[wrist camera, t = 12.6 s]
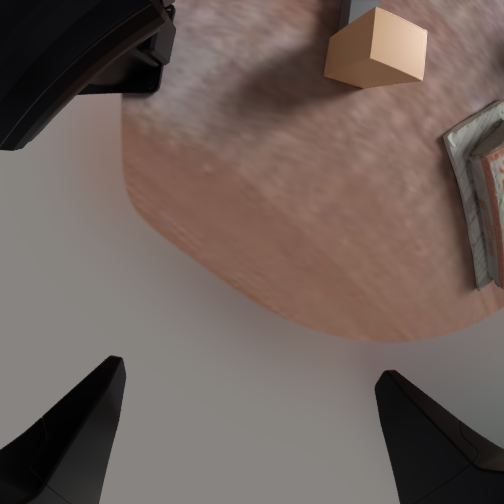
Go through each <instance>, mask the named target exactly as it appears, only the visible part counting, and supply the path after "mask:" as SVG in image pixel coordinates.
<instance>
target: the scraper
mask: <svg viewBox="0 0 504 504" xmlns="http://www.w3.org/2000/svg"><path fill="white" fill-rule="evenodd" d="M426 42H427V31H426V30H424V29H422V28H420V27H418V26H416V25H415V24H413V23H411V22H409V21H407V20H405V19H403V18H401V17H398V16H396V15H394V14H392V13H390V12H388V11H385V10H383V9H381V8H380V0H342V4H341V11H340V19H339V26H338V32H337V33H336V34H334V35H333V36H332V37H330V38H329V44H328V51H327V57H326V63H325V69H324V75H323V76H324V77H327V78H331V79H334V80H338V81H341V82H345V83H348V84H351V85H354V86H357V87H360V88H363V89H365V88H371V87H378V86H384V85H392V84H399V83H408V82H417V81H423V75H424V66H425V55H426Z"/></svg>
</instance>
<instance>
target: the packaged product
mask: <svg viewBox="0 0 504 504" xmlns="http://www.w3.org/2000/svg"><path fill="white" fill-rule="evenodd" d="M442 137H443V139H444V142H445V146H446V149H447V152H448V155H449V158H450V161H451V164H452V166H453V169H454V172H455V175H456V178H457V182H458V186H459V190H460V194H461V198H462V203H463V207H464V212H465V217H466V222H467V229H468V236H469V239H470V240H469V241H470V245H471V249H472V253H473V262H474V269H475V278H476V284H477V290H478V291H481V290H482V289H483V288H484V287H485V286H486V285H488V284H489V283H490V282H491V281H492V279H494V281H495V284H496V285H497V286H498V287H501V288H502V289H503V290H504V100H499V101H497V102H495V103H493V104H492V105H490V106H488V107H487V108H485V109H483V110H482V111H480V112H478V113H476V114H475V115H473V116H471V117H470V118H468V119H466V120H464V121H463V122H461V123H459V124H458V125H456V126H455V127H453V128H452V129H451V130H450V131H448V132H447V133H446V134H445V135H443V136H442Z"/></svg>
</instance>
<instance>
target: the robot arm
mask: <svg viewBox="0 0 504 504" xmlns="http://www.w3.org/2000/svg"><path fill="white" fill-rule="evenodd" d="M174 2H175V0H0V150H9V151H14V150H18V149H22V148H23V147H24V146H25V145H26V144H27V143H28V142H30V141H32V140H33V139H34V138H35V137H36V136H37V135H38V134H39V133H40V132H41V131H42V130H43V129H44V128H45V126H46V125H47V124H48V123H49V122H50V121H51V120H52V119H53V118H54V117H55V116H56V115H57V114H58V113H59V112H60V111H61V110H62V109H63V108H64V107H65V106H66V105H67V104H68V103H69V102H70V101H71V100H72V99H73V98H74V97H75V96H76V95H85V94H107V93H155V92H157V91H158V90H159V88H160V84H161V78H162V72H163V67H164V65H166V64H168V63H169V61H170V56H171V51H172V46H173V42H174V37H175V33H176V28H175V26H174V24H173V20H174V16H175V8H174V6H173V5H172V3H174ZM166 9H171V10H170V12H168V13H167V12H166V11H165V10H166ZM153 82H154V83H155V87H154V88H153V89H149V85H150V83H153ZM125 381H126V372H125V367H124V362H123V359H122V358H121V357H117V356H112V355H111V356H109V357H108V358H107V359H105V360H104V361H103V362H102V363H101V364H100V365H99V366H98V367H97V368H95V369H94V370H93V371H92V372H91V373H90V374H89V375H88V376H86V377H85V378H84V379H83V380H82V381H81V382H80V383H79V384H77V385H76V386H75V387H74V388H73V389H72V390H71V391H70V392H69V393H67V394H66V395H65V396H64V397H63V398H62V399H61V400H60V401H59V402H57V403H56V404H55V405H54V406H53V407H52V408H51V409H50V410H49V411H48V412H46V413H45V414H44V415H43V416H42V418H40V419H39V420H38V421H37V422H35V424H33V425H32V426H31V427H30V428H29V429H27V430H26V431H25V432H24V433H23V434H21V435H20V436H19V437H17V438H16V439H15V440H13V441H12V442H10V443H9V444H8V445H6V446H5V447H3V448H2V449H0V504H99V501H100V496H101V491H102V487H103V482H104V478H105V473H106V469H107V465H108V461H109V457H110V453H111V448H112V445H113V441H114V438H115V434H116V430H117V427H118V423H119V418H120V411H121V405H122V399H123V393H124V387H125ZM375 395H376V400H377V406H378V412H379V418H380V423H381V427H382V431H383V435H384V438H385V442H386V446H387V450H388V453H389V457H390V461H391V466H392V470H393V474H394V478H395V482H396V487H397V491H398V496H399V501H400V504H504V449H503V448H501V447H499V446H497V445H496V444H494V443H492V442H491V441H489V440H487V439H486V438H484V437H483V436H481V435H480V434H478V433H477V432H475V431H474V430H472V429H471V428H470V427H468V426H467V425H465V424H464V423H463V422H462V421H460V420H458V418H456V417H455V416H454V415H452V414H451V413H450V412H449V411H447V410H446V409H445V408H443V407H442V406H441V405H440V404H438V403H437V402H436V401H434V400H433V399H432V398H430V397H429V396H428V395H427V394H425V393H424V392H423V391H421V390H420V389H419V388H417V387H416V386H415V385H414V384H412V383H411V382H410V381H408V380H407V379H406V378H405V377H403V376H402V375H401V374H400V373H398V372H397V371H396V370H386V371H384V372H383V373H382V375H381V377H380V378H379V380H378V381H377V383H376V385H375Z"/></svg>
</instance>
